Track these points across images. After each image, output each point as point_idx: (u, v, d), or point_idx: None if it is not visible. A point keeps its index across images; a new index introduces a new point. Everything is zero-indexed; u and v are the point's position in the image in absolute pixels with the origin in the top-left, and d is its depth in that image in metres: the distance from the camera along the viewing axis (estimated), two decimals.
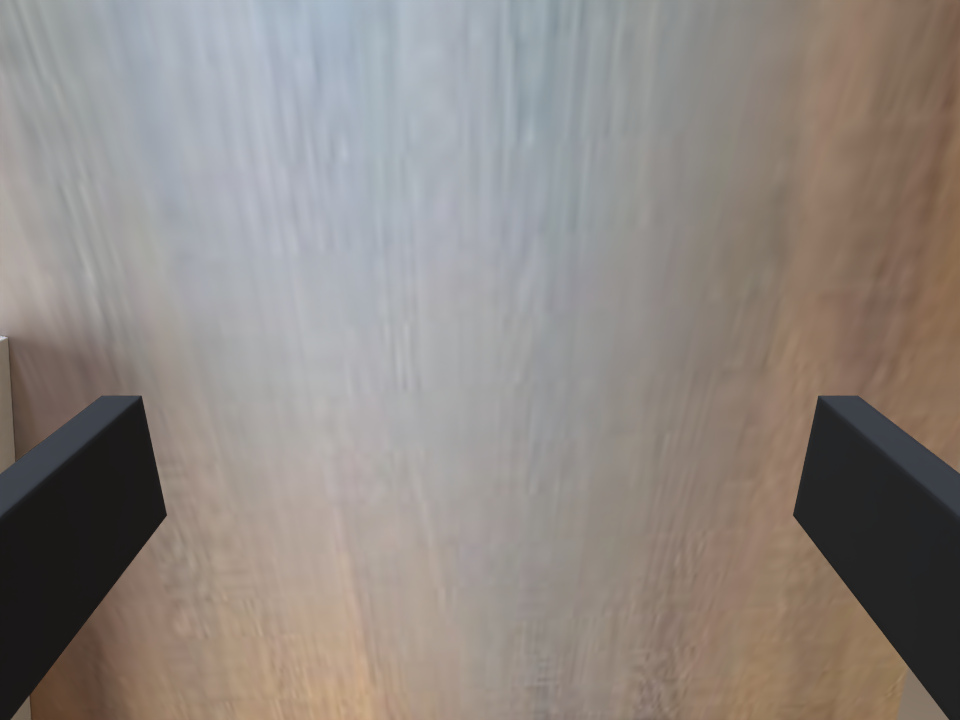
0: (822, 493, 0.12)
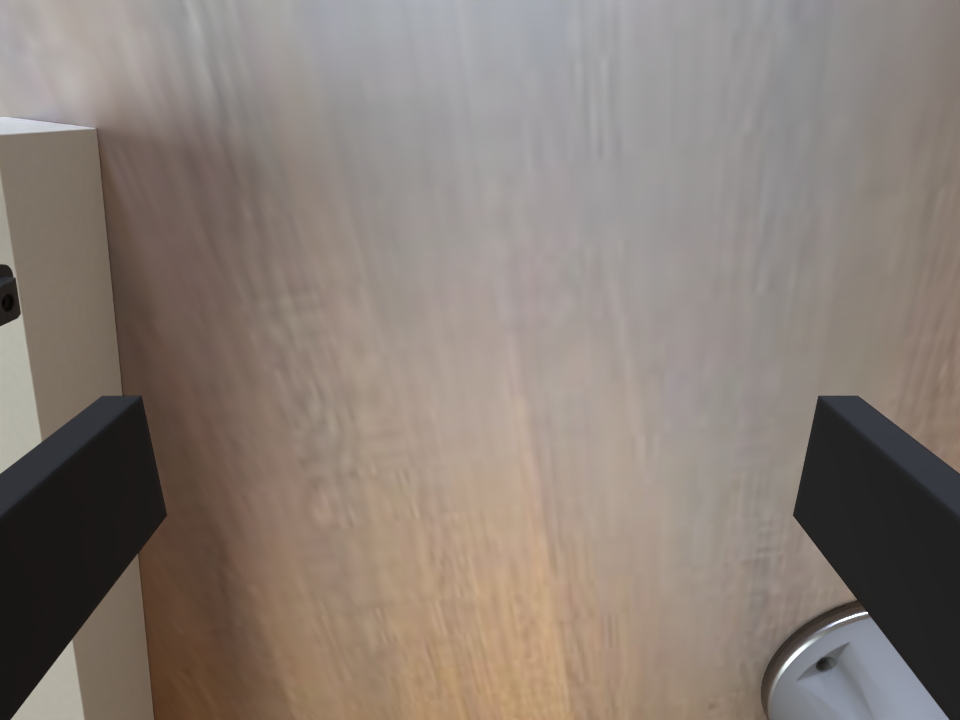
0: (822, 493, 0.12)
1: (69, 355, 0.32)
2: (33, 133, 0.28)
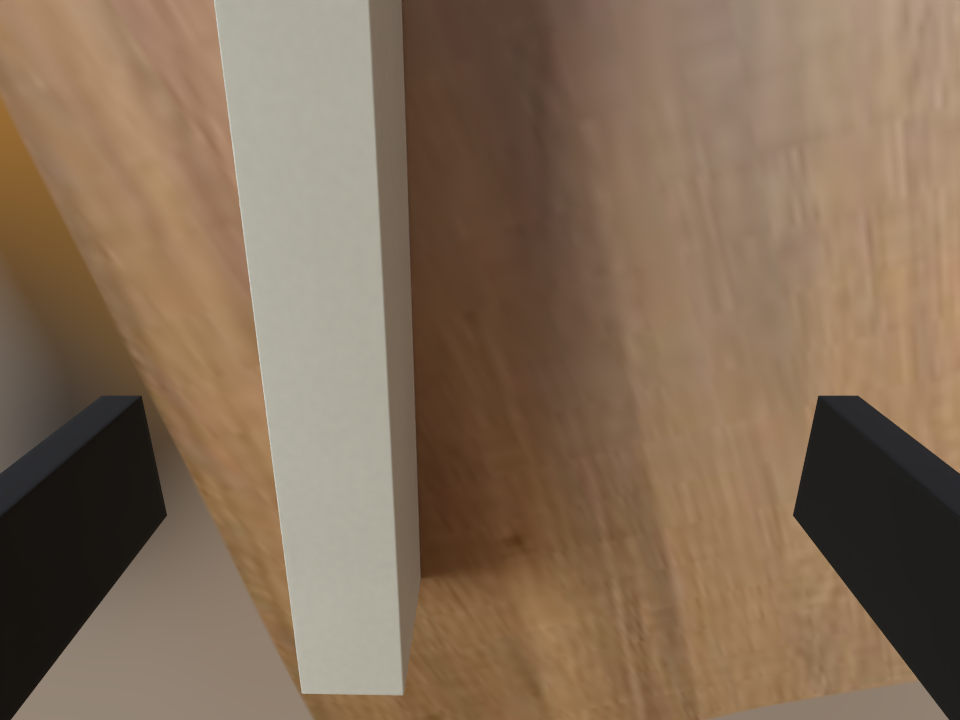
0: (822, 493, 0.12)
1: None
2: None
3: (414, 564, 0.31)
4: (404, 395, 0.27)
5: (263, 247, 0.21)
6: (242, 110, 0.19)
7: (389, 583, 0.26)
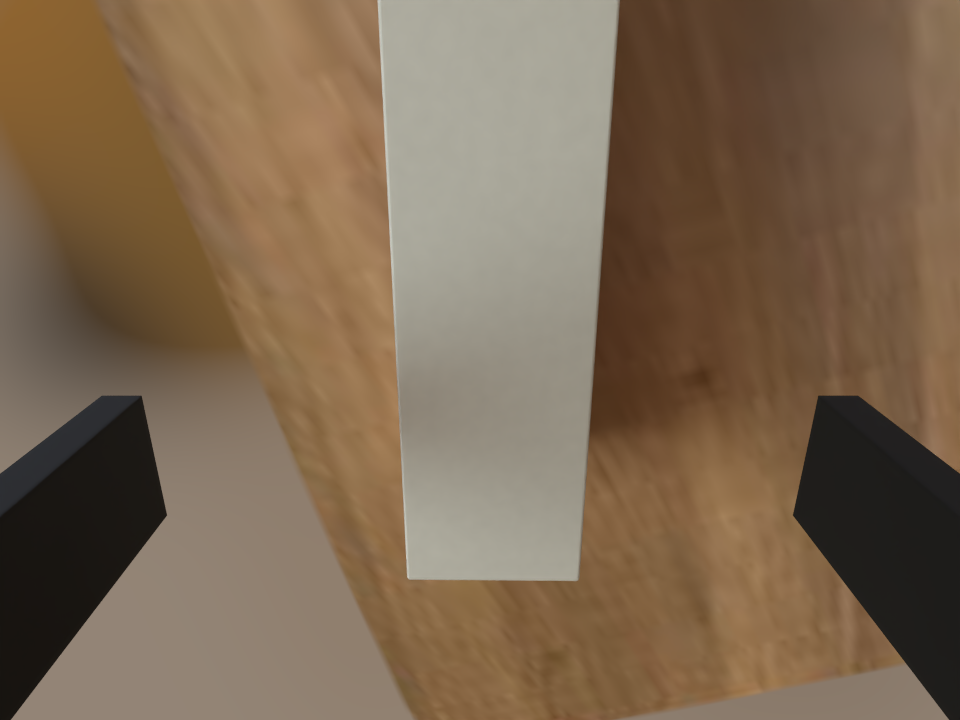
0: (822, 493, 0.12)
1: None
2: None
3: None
4: None
5: None
6: None
7: (578, 364, 0.14)
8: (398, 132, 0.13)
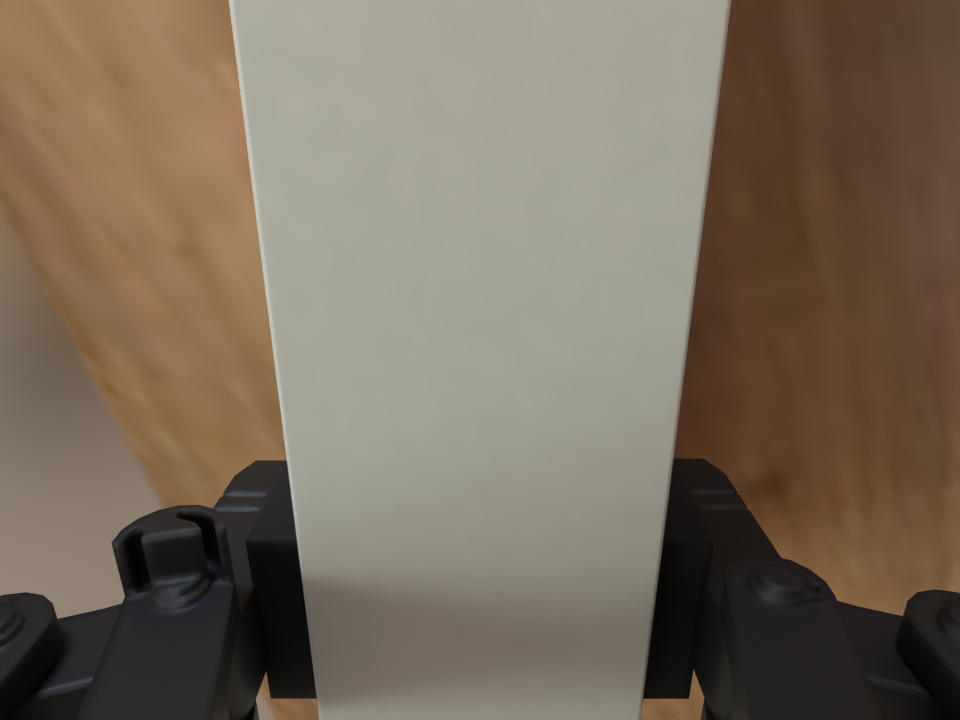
0: None
1: None
2: None
3: None
4: None
5: None
6: None
7: (631, 576, 0.08)
8: (275, 161, 0.06)
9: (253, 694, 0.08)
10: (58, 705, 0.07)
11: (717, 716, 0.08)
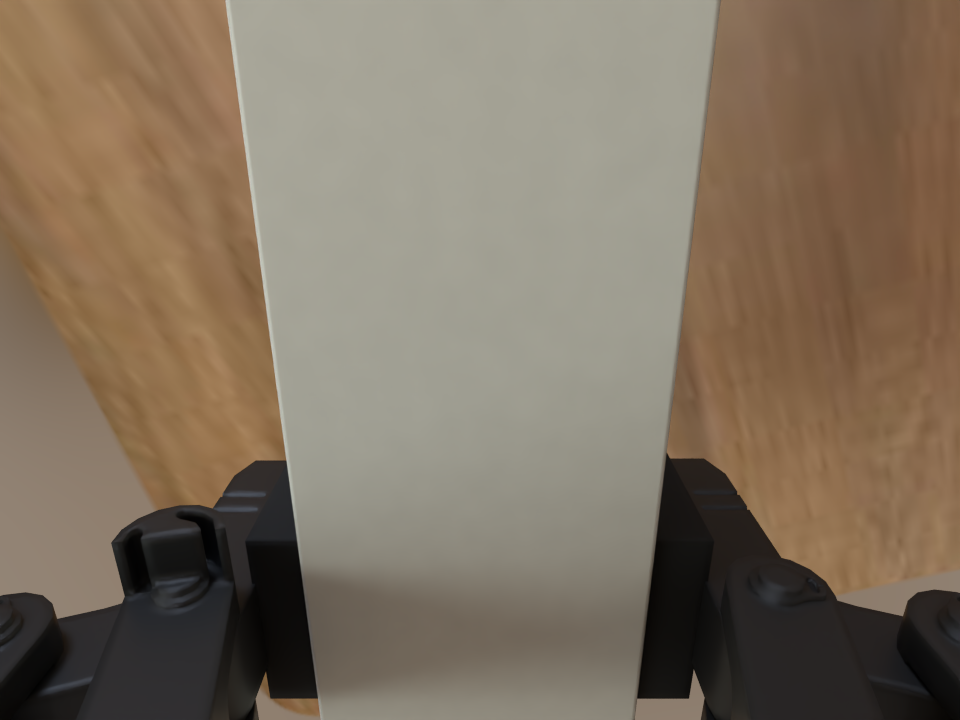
0: None
1: None
2: None
3: None
4: None
5: None
6: None
7: (625, 571, 0.08)
8: (274, 167, 0.06)
9: (253, 694, 0.08)
10: (57, 705, 0.07)
11: (717, 716, 0.08)
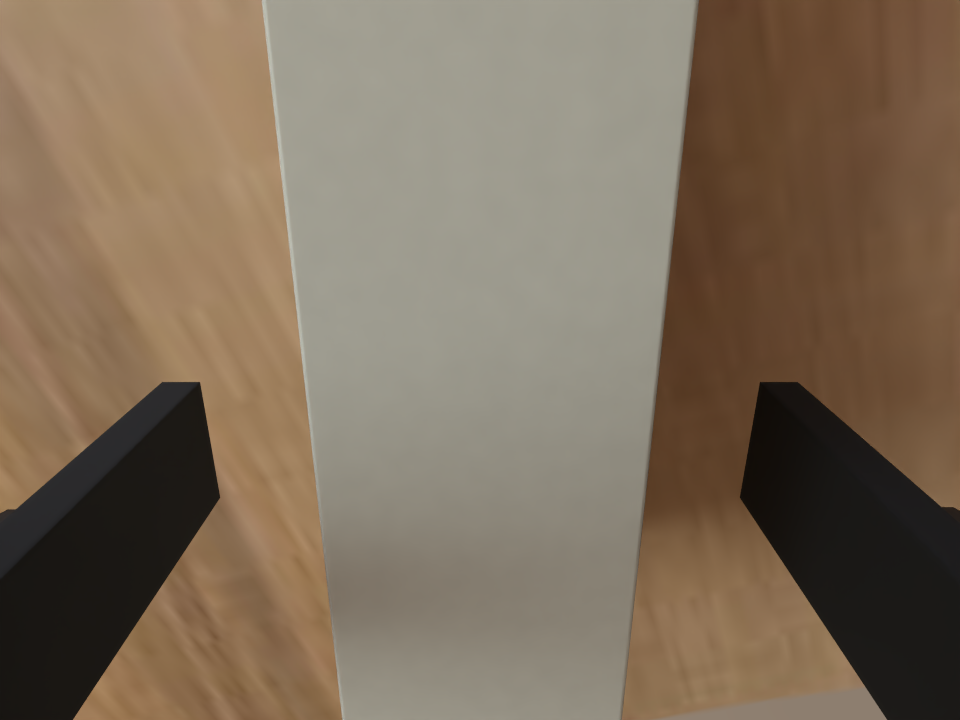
0: (763, 475, 0.13)
1: None
2: None
3: None
4: None
5: None
6: None
7: (619, 510, 0.09)
8: (300, 126, 0.07)
9: None
10: None
11: None
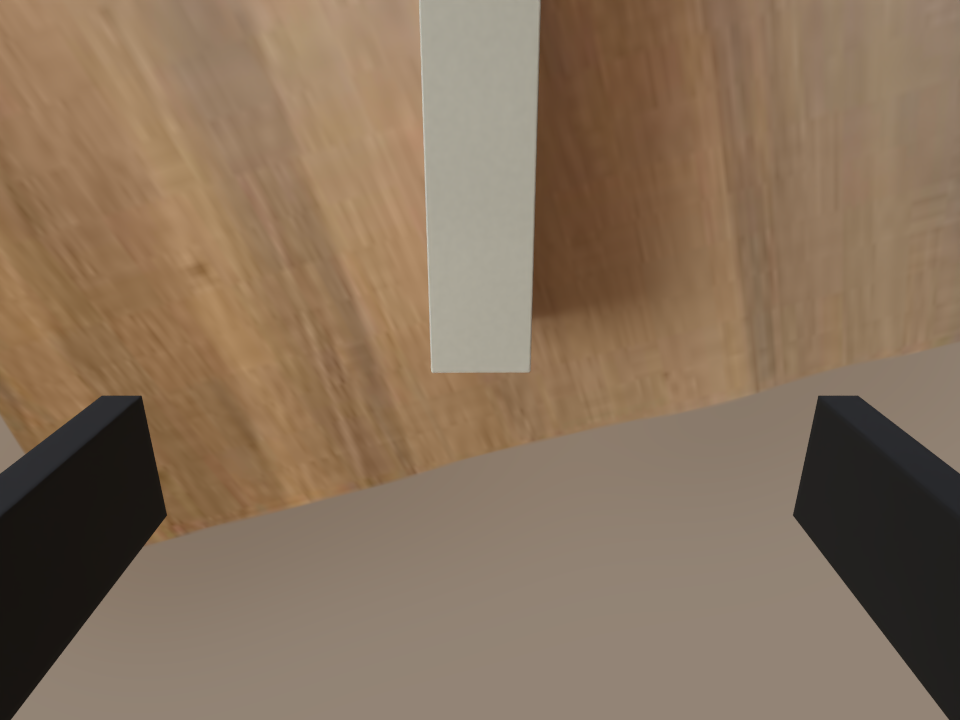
0: (822, 493, 0.12)
1: None
2: None
3: None
4: None
5: None
6: None
7: (525, 238, 0.27)
8: (429, 111, 0.25)
9: None
10: None
11: None
